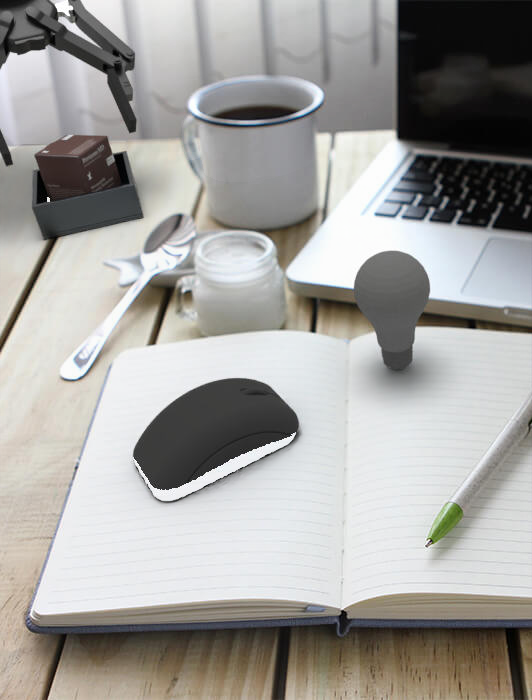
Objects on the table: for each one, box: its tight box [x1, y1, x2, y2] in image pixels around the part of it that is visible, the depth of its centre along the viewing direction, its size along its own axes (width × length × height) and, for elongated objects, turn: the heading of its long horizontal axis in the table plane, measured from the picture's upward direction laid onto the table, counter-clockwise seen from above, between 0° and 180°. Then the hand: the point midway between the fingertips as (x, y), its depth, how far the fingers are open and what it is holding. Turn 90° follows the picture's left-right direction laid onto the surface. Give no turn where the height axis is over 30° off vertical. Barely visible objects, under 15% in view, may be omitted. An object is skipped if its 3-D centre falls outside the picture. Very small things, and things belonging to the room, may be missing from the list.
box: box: [33, 134, 122, 201], centre depth 89 cm, size 6×6×7 cm
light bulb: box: [353, 250, 431, 370], centre depth 59 cm, size 6×6×10 cm
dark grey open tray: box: [31, 150, 144, 241], centre depth 90 cm, size 11×11×4 cm
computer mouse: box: [132, 377, 300, 490], centre depth 55 cm, size 6×11×4 cm, turn 123°
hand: (72, 143), depth 85 cm, fingers open, 13 cm apart
